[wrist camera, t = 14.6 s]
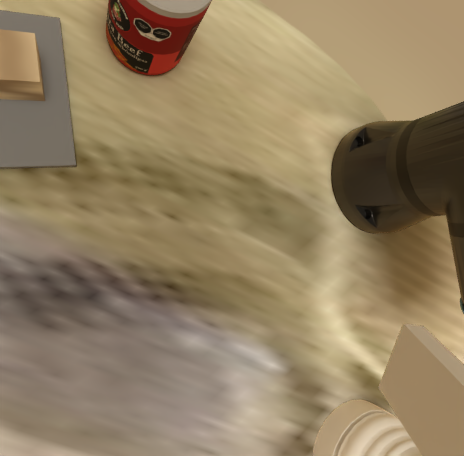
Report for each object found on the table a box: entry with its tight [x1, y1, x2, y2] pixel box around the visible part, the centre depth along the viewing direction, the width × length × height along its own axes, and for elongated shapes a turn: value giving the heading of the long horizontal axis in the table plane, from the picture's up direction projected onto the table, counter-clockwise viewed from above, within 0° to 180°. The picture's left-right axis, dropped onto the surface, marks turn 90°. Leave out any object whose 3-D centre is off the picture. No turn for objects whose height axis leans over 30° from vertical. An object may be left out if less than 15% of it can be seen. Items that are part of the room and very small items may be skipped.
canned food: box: [106, 0, 212, 75], centre depth 31 cm, size 8×8×11 cm
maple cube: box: [0, 29, 45, 101], centre depth 29 cm, size 4×4×4 cm
